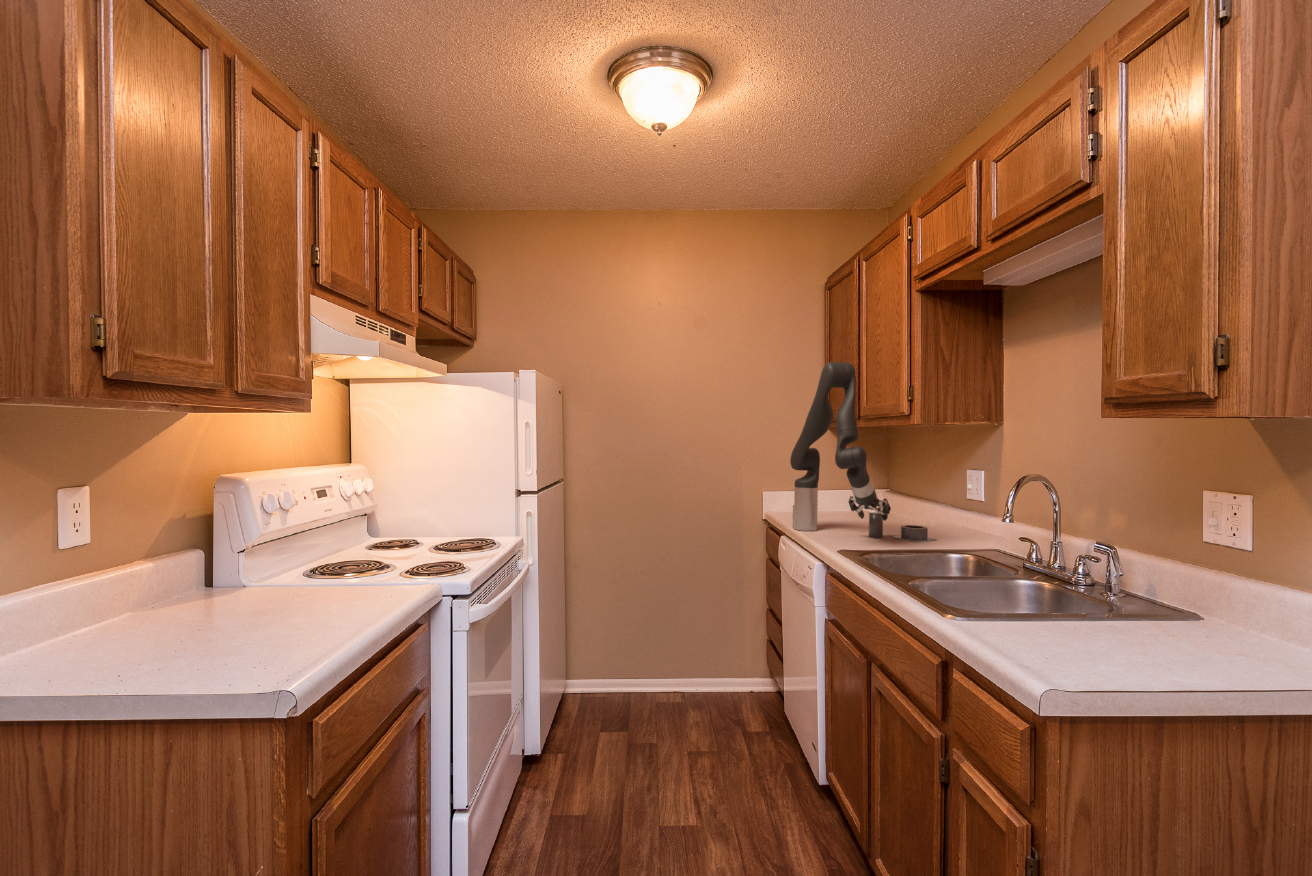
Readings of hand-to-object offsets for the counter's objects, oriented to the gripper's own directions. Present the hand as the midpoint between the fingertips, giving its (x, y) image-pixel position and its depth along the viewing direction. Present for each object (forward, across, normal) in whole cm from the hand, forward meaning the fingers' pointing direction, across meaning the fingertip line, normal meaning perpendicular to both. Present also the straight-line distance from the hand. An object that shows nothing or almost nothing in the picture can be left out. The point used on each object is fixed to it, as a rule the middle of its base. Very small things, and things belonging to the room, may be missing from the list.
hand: (873, 517), depth 234 cm
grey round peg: (+7, 0, +4) cm, 8 cm away
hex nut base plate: (+11, -12, 0) cm, 16 cm away
